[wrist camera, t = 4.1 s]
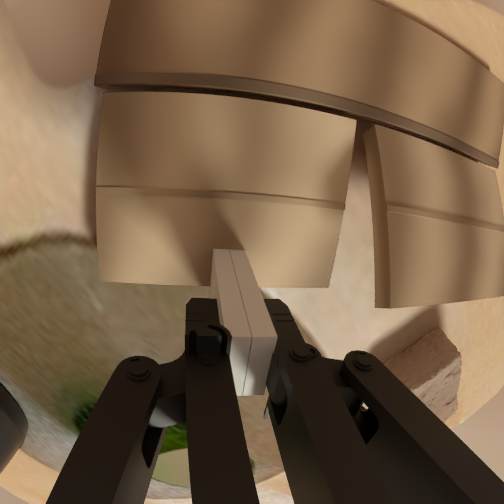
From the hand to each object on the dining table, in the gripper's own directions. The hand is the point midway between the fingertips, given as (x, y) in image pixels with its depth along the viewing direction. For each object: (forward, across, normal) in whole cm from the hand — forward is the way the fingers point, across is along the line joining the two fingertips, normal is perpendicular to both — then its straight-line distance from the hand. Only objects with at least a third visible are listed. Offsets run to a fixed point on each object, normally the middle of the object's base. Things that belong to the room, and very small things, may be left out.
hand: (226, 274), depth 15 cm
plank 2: (-1, +13, +4) cm, 13 cm away
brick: (+3, +22, -15) cm, 27 cm away
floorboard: (+2, +6, +12) cm, 14 cm away
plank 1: (+1, 0, +4) cm, 4 cm away
